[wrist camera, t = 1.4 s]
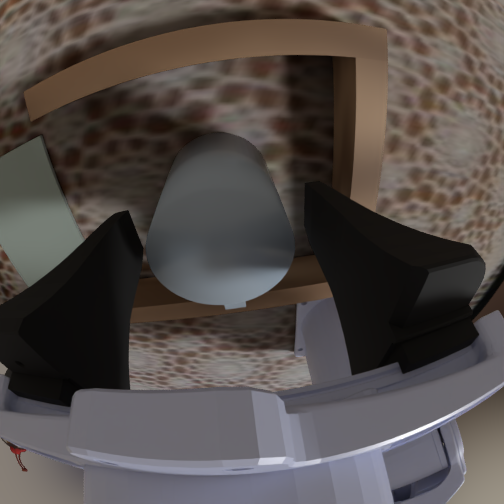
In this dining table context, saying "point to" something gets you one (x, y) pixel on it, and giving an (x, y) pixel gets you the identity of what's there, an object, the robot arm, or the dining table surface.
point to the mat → (34, 212)
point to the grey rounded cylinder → (220, 224)
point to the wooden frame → (242, 46)
